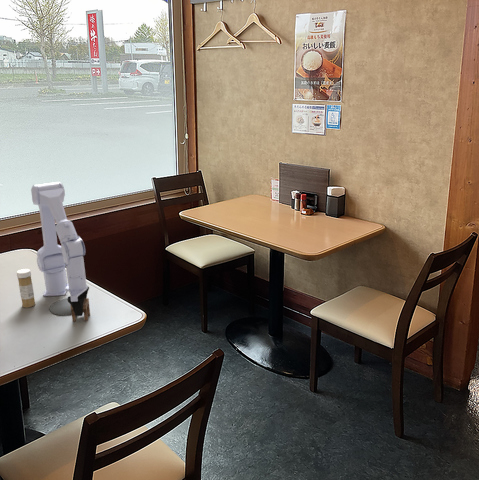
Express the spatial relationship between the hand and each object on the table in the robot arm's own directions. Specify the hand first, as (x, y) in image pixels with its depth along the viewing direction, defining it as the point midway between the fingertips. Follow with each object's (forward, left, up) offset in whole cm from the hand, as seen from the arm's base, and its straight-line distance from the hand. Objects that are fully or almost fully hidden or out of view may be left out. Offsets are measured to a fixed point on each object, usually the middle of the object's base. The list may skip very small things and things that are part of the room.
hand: (80, 311), depth 173 cm
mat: (-9, -6, -2) cm, 11 cm away
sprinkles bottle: (-12, -21, -2) cm, 24 cm away
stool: (0, 0, -2) cm, 2 cm away
